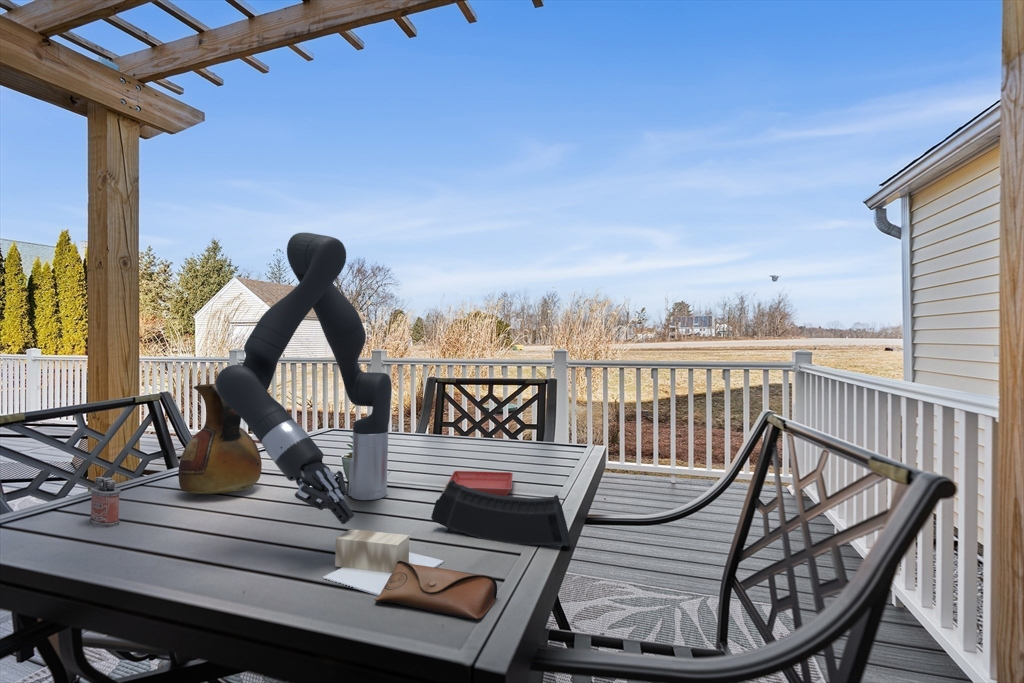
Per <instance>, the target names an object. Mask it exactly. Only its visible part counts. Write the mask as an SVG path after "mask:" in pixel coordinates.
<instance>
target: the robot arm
mask: <svg viewBox="0 0 1024 683" xmlns="http://www.w3.org/2000/svg"><path fill="white" fill-rule="evenodd" d="M286 256H287V257H286V258H287V261H288V264H289V266H290V268H291V270H292V272H293V273H294V276H295V277H296V279H297V280H298V282H299V283H298V284H297V285H296V286H295V287H294V288H293V289H292V290H290V292H288V294H286V295H285V296H284V297H283V298H281V299H279V300H278V301H277V302H275V304H273V305H272V306H271V307H269V308H268V309H267V311H265V312H264V314H263V315H262V316H261V317H260V318H259V320H258V321H257V323H256V325H255V326H254V328H253V329H252V331H251V333H250V334H249V336H248V338H247V340H246V341H245V342H244V346H243V350H244V353H245V354H244V355H245V358H244V360H243V362H242V365H241V364H231V365H229V366H226V367H225V368H222V369H221V370H220V371H219V373H218V375H217V376H216V380H215V384H216V388H217V391H218V393H219V395H220V396H221V398H222V399H223V400H224V401H225V402H226V403H227V404H228V405H229V406H230V407H231V408H232V409H233V410H234V411H235V412H236V413H237V414H238V415H239V416H240V417H241V420H243V421H244V422H245V424H246V425H247V426H248V428H249V430H250V431H251V432H252V434H253V435H254V436H255V438H256V439H257V440H258V441H259V443H260V444H261V445H262V446H263V448H264V451H265V452H266V453H267V455H268V456H269V458H270V459H271V460H272V461H273V462H274V464H275V465H276V467H278V469H279V471H281V473H282V474H283V475H284V476H285V478H286V479H287V481H289V482H290V481H291V482H294V481H295V484H296V485H297V486H298V489H297V491H296V492H294V497H295V498H296V499H298V500H299V501H301V502H303V503H306V504H308V505H309V506H312V507H314V508H315V509H317V510H319V511H323V510H324V509H326V510H328V511H331V513H332V514H333V515H334V516H335V517H336V518H337V520H338V521H339V522H340V523H341V525H345V524H346V523H348V522H350V521H351V520H352V519H353V518H354V517H355V513H354V512H353V510H352V508H350V507H349V505H348V504H347V503H346V502H345V500H344V499H345V498H344V497H345V496H346V495H347V494H348V496H349V497H351V498H352V499H353V500H359V501H372V500H373V501H374V500H379V499H383V498H385V497H387V494H388V457H389V453H388V452H389V449H388V448H389V425H390V424H389V423H390V420H391V404H392V403H391V402H392V392H393V391H392V389H393V388H392V387H393V386H392V379H391V377H390V375H389V374H387V373H386V372H371V371H370V372H367V371H363V370H361V368H360V364H359V358H360V355H361V354H362V351H363V350H364V348H365V347H364V346H365V344H366V339H367V334H366V330H365V327H364V324H363V321H362V319H361V316H360V314H359V312H358V311H357V309H356V307H355V306H354V305H353V304H352V302H351V301H349V299H348V298H347V297H346V296H345V295H344V294H343V293H342V292H341V291H340V290H339V289H338V288H337V287H336V285H335V283H334V282H335V281H336V279H337V278H338V277H339V276H340V274H341V273H342V271H343V269H344V268H345V265H346V261H347V249H346V247H345V245H344V243H343V242H342V241H341V240H340V239H338V238H336V237H333V236H330V235H323V234H318V233H313V232H297V233H295V234H293V235H292V236H291V237H290V239H289V240H288V242H287V246H286ZM312 309H313V311H314V313H315V315H316V318H317V319H318V322H319V324H320V327H321V329H322V332H323V335H324V337H325V339H326V341H327V343H328V345H329V347H330V349H331V352H332V354H333V356H334V359H335V361H336V363H337V366H338V369H339V372H340V375H341V378H342V382H343V385H344V389H345V392H346V394H347V398H348V399H349V402H350V403H352V405H354V406H359V407H372V409H371V410H372V411H371V413H370V414H369V415H368V416H366V417H363V418H360V419H357V420H355V421H354V422H353V424H352V456H351V459H350V460H349V462H348V464H349V465H348V468H349V469H348V491H347V487H346V483H345V478H344V473H343V472H342V471H341V470H338V471H337V472H333V471H331V469H330V467H329V466H328V465H326V464H325V463H323V458H324V453H323V451H322V450H321V449H320V447H319V446H318V445H317V444H316V443H315V441H314V440H313V439H312V438H311V436H310V435H309V434H308V433H307V432H306V430H305V429H304V428H303V427H302V426H301V425H300V424H298V423H297V422H296V421H295V420H294V418H293V417H292V416H291V414H290V413H289V412H288V411H287V410H286V408H285V406H283V405H282V404H281V403H279V402H278V401H277V400H276V399H275V398H274V397H273V396H271V393H269V392H268V391H269V389H270V386H271V383H272V381H273V378H274V375H275V372H276V370H277V366H278V362H279V360H280V358H281V356H283V353H284V352H285V350H286V348H287V347H288V346H289V343H290V341H291V340H292V338H293V336H294V334H295V333H296V331H297V330H298V328H299V326H300V325H301V323H302V322H303V320H304V319H305V318H306V317H307V315H308V314H309V313H310V312H311V310H312Z"/></svg>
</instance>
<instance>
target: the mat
mask: <svg viewBox="0 0 1024 683" xmlns="http://www.w3.org/2000/svg"><path fill="white" fill-rule="evenodd" d="M409 563H411V564H415V565H422V566H429V567H436V568H438V567H439V566H440V564H441V565H442V564H444V563H445V560H442V559H438V558H435V557H431V556H426V555H421V554H419V553H414V552H410V551H409ZM391 574H392V573H386V572H378V571H369V570H361V569H353V568H345V567H339V568H338V569H337V570H334V571H332V572H330V573H328V574H326V575H324V576H322V579H323V580H325V579H327V580H326V581H328V580H330V581H329V582H332V581H333V583H335V582H337V583H336V584H338V583H341V584H340V585H342V584H344V585H343V586H345V585H347V586H346V587H348V586H350V587H349V588H351V587H353V588H352V589H355V590H359V591H361V592H365V593H369V594H371V595H375V596H377V597H378V596H379V595H380V594H381V592H382V590H383V588H384V586H385V585H386V583H387V581H388V579H389V577H390V576H391Z"/></svg>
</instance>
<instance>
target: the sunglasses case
mask: <svg viewBox="0 0 1024 683" xmlns="http://www.w3.org/2000/svg"><path fill="white" fill-rule="evenodd" d="M497 595H498V583H497V580H496V579H495V578H494V577H492V576H490V575H486V574H473V573H467V572H463V571H456V570H452V569H447V568H441V567H436V568H435V567H429V566H422V565H415V564H411V563H408V562H405V561H398V562H397V565H396V567H395V569H394V570H393V572H392V574H391V576H390V577H389V579H388V581H387V583H386V585H385V586H384V588H383V590H382V592H381V594H380V595H379V596H378V595H377V596H376V597H375V598H374V601H375V602H380V603H381V602H382V603H390V604H396V605H401V606H405V607H409V608H410V607H411V608H415V609H419V610H420V609H421V610H425V611H428V612H433V613H437V614H440V615H446V616H451V617H452V616H453V617H459V618H466V619H473V620H474V619H475V620H480V619H482V618H483V617H484V616H486V615H487V613H488V612H489V611H490V610H491V609H492V607H493V605H495V603H496V600H497Z"/></svg>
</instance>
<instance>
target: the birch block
mask: <svg viewBox="0 0 1024 683" xmlns="http://www.w3.org/2000/svg"><path fill="white" fill-rule="evenodd" d="M409 552H410V534H402V533H391V532H381V531H372V530H364V529H363V530H362V529H348V530H346V531H345V532H343V533H342V534H341V535H339V536H337V537H336V538H335V560H334V562H335V563H334V564H335V565H334V566H335V567H338V568H342V567H345V568H353V569H361V570H369V571H378V572H386V573H392V572H393V570H394V569H395V567H396V565H397V562H398V561H405V562H408V563H409Z"/></svg>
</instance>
